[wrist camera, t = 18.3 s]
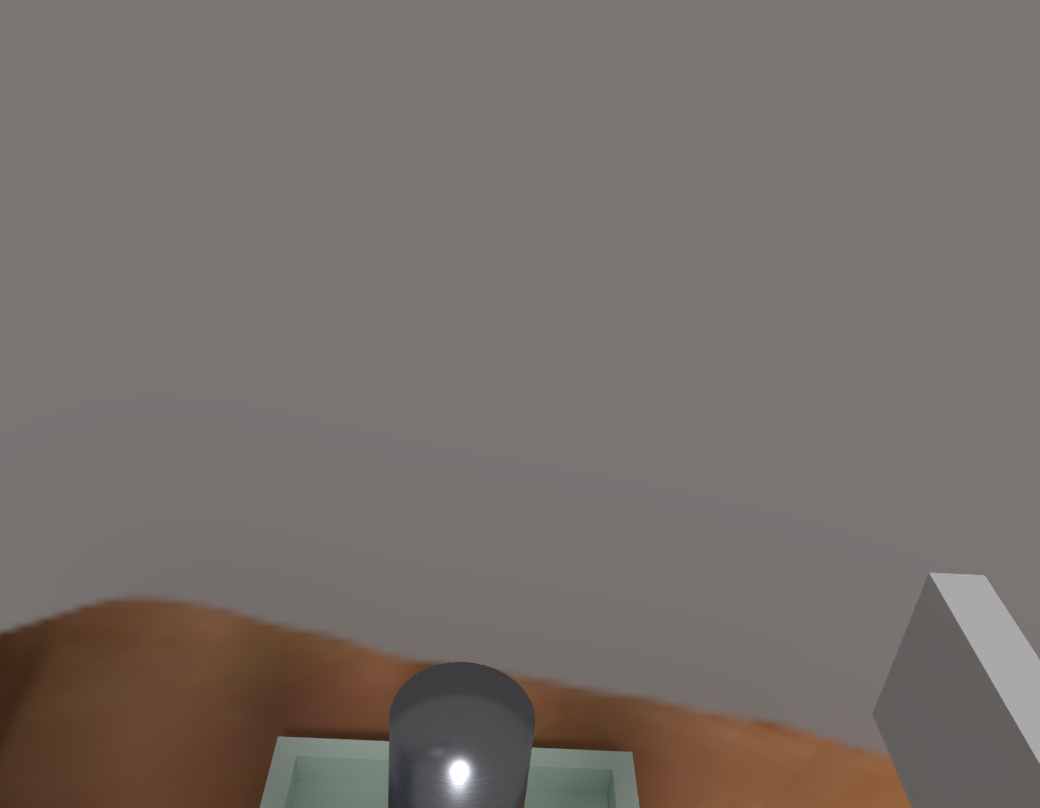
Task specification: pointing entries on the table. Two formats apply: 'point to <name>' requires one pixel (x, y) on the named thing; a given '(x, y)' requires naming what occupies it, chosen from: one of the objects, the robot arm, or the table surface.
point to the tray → (365, 775)
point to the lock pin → (460, 740)
